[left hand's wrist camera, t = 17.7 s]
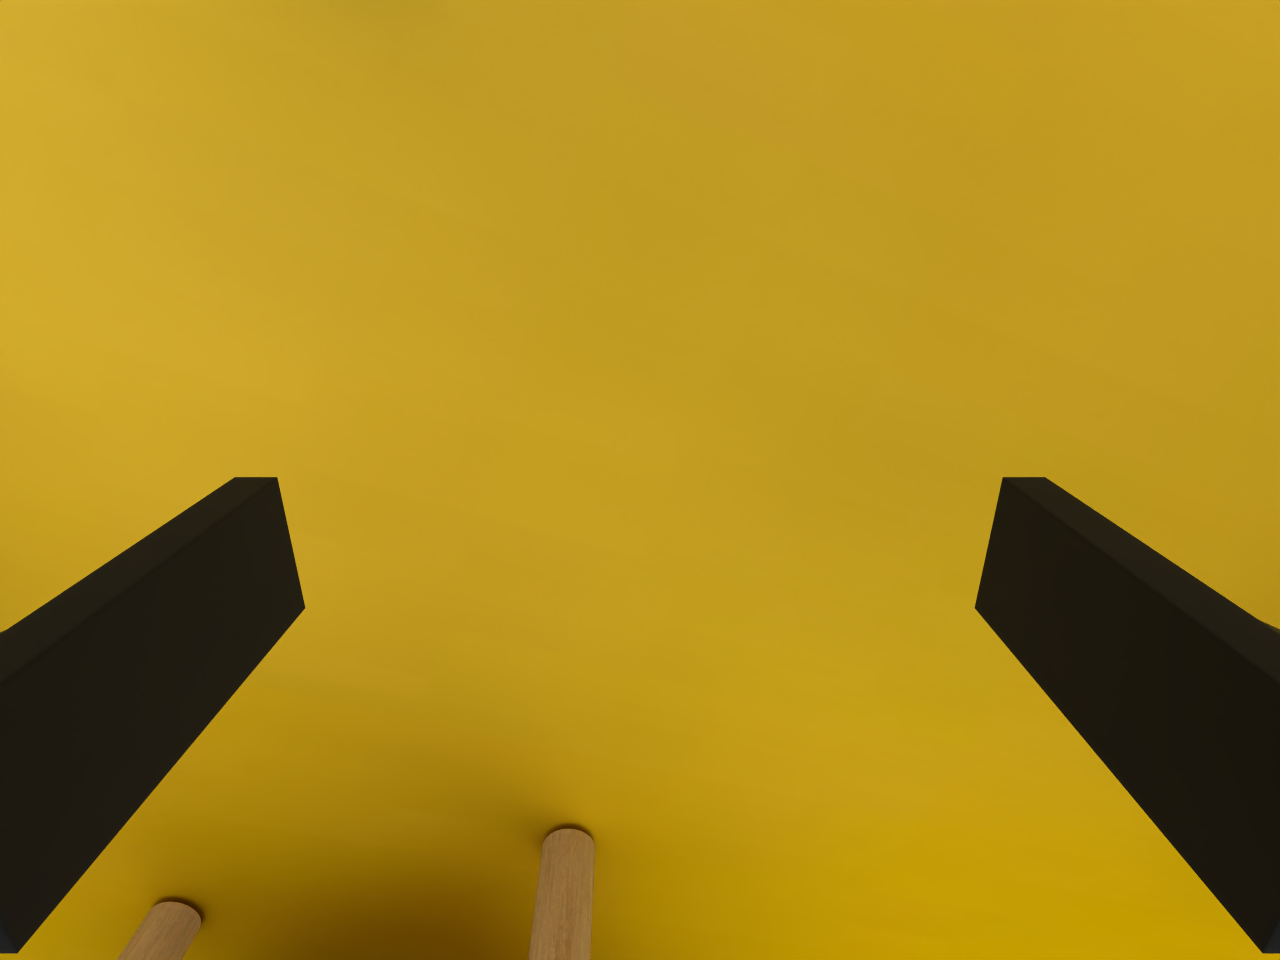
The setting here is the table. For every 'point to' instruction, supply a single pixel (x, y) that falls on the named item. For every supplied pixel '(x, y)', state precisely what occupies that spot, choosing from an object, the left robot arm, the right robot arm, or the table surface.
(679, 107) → the table surface
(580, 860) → the planter
